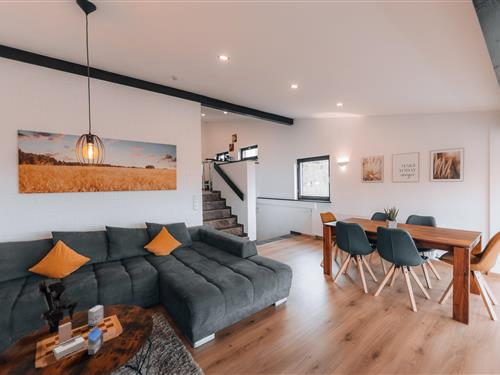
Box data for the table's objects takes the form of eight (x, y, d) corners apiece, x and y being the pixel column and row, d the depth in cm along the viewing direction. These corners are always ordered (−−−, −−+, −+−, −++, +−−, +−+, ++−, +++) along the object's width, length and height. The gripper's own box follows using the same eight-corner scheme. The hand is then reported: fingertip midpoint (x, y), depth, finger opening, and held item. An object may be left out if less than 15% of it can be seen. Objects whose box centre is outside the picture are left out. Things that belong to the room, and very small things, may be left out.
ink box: (93, 328, 165) (93, 311, 165) (88, 327, 166) (87, 310, 166) (103, 321, 174) (103, 305, 173) (98, 320, 175) (97, 304, 174)
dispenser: (52, 353, 141) (52, 346, 141) (80, 340, 152) (80, 334, 152) (57, 360, 136) (56, 352, 136) (85, 346, 147) (85, 339, 147)
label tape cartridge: (94, 354, 140) (94, 334, 140) (87, 354, 140) (87, 334, 140) (103, 344, 149) (103, 325, 149) (97, 344, 149) (97, 325, 149)
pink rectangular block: (58, 346, 147) (58, 326, 146) (70, 341, 152) (70, 321, 151) (59, 348, 146) (59, 327, 145) (71, 342, 150) (71, 323, 150)
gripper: (43, 299, 146) (48, 323, 140) (78, 289, 161) (84, 311, 155) (38, 307, 150) (43, 331, 144) (72, 297, 166) (78, 318, 160)
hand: (63, 322), depth 151 cm, fingers open, 9 cm apart
